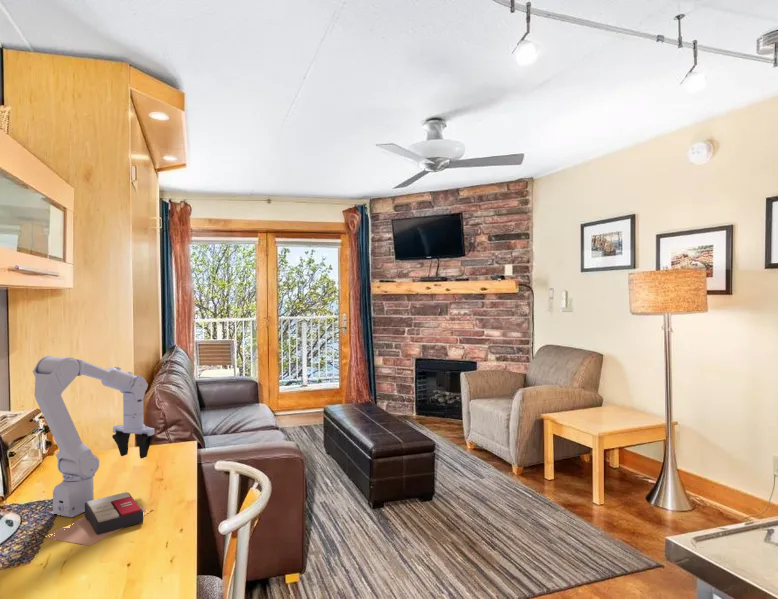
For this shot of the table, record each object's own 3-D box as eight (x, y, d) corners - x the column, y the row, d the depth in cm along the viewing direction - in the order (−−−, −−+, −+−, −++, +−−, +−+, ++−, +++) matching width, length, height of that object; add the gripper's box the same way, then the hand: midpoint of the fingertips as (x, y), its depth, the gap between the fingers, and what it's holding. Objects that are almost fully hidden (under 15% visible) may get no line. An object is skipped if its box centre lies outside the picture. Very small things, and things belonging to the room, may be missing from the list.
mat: (89, 547, 120) (89, 545, 120) (42, 539, 125) (42, 537, 125) (154, 511, 140) (154, 509, 140) (111, 505, 145) (111, 503, 145)
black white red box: (96, 521, 125) (84, 499, 136) (96, 537, 125) (84, 515, 137) (143, 508, 133) (128, 489, 144) (143, 524, 133) (128, 504, 144)
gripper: (161, 412, 160) (161, 454, 160) (125, 409, 164) (125, 450, 164) (144, 417, 153) (145, 461, 153) (107, 414, 158) (107, 457, 158)
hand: (133, 456), depth 158 cm, fingers open, 7 cm apart
